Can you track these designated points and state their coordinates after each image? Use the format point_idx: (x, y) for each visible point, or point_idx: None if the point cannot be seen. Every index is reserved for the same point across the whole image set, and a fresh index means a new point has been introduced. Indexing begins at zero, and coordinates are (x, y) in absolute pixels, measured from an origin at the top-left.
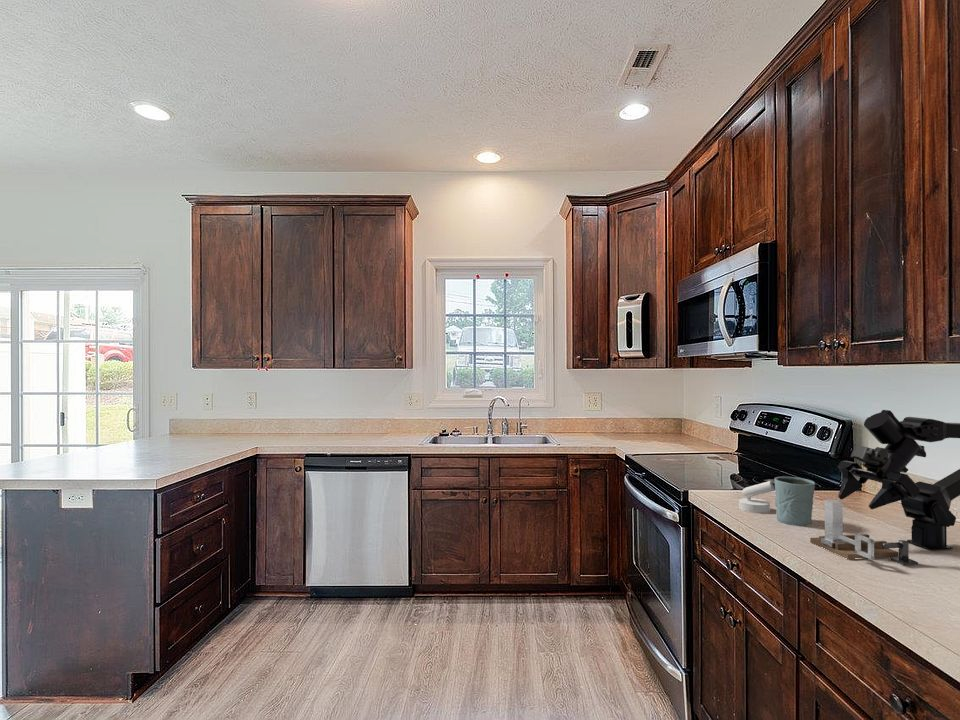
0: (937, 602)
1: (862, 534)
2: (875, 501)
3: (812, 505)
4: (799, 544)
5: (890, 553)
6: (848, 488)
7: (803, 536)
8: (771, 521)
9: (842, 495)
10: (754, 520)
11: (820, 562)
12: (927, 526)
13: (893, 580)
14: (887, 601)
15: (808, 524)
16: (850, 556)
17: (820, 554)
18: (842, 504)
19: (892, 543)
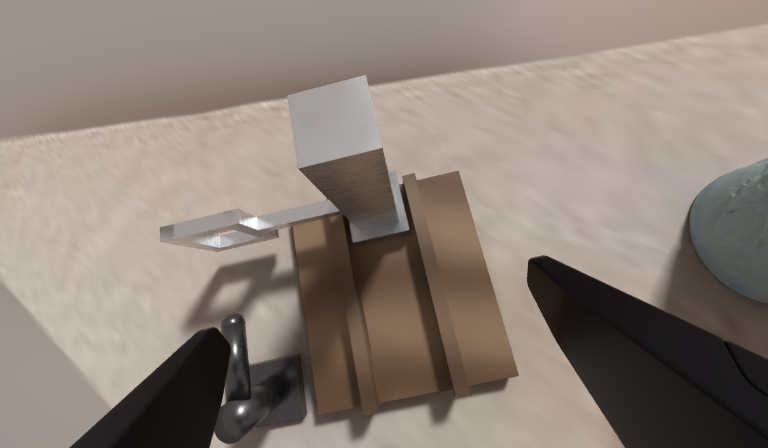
0: (29, 270)
1: (460, 368)
2: (143, 389)
3: None
4: (430, 135)
5: (313, 376)
6: (645, 403)
7: (527, 184)
8: (728, 143)
9: (546, 292)
10: (721, 84)
11: (276, 129)
12: None
13: (150, 251)
14: (54, 163)
15: (714, 273)
16: None
17: None
18: (305, 174)
19: None
